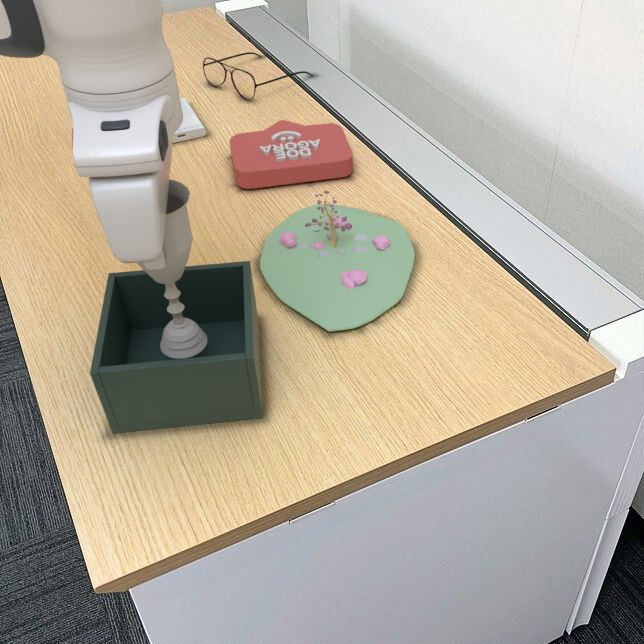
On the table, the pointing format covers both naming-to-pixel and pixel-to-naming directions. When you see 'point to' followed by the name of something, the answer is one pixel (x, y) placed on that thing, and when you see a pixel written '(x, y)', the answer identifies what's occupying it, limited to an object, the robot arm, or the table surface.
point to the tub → (170, 373)
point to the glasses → (243, 71)
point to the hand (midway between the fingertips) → (159, 242)
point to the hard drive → (188, 124)
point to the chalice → (177, 277)
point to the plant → (338, 264)
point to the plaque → (290, 154)
